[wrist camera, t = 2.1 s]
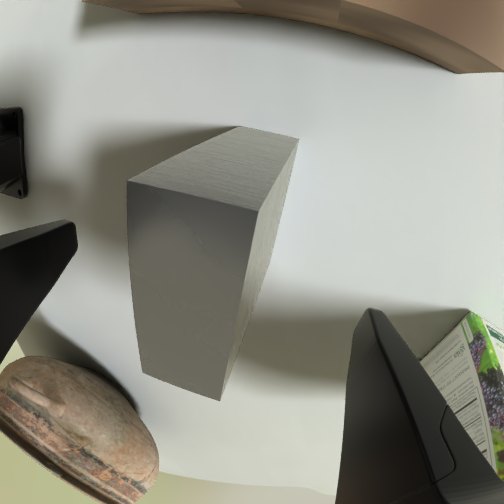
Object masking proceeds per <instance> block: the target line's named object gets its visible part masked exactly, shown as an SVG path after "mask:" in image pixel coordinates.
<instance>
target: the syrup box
mask: <svg viewBox="0 0 504 504" xmlns="http://www.w3.org/2000/svg"><path fill="white" fill-rule="evenodd" d="M420 363H421V365H422V366H423V368H424V369H425V371H426V372H427V373H428V375H429V376H430V378H431V379H432V381H433V382H434V384H435V385H436V387H437V388H438V389H439V391H440V392H441V394H442V395H443V397H444V398H445V400H446V401H447V405H449V406H450V407H451V409H452V411H453V412H454V414H455V415H456V417H457V418H458V420H459V421H460V423H461V424H462V426H463V427H464V429H465V430H466V432H467V433H468V434H469V436H470V437H471V438H472V440H473V441H474V443H475V444H476V445H477V447H478V448H479V450H480V451H481V452H482V454H483V455H484V456H485V458H486V459H487V461H488V462H489V463H490V465H491V466H492V468H493V469H494V470H495V472H496V473H497V475H498V476H499V477H500V478H501V479H502V480H503V481H504V333H503V332H502V331H500V330H499V329H497V328H496V327H494V326H493V325H492V324H490V323H489V322H487V321H485V320H484V319H482V318H481V317H479V316H478V315H476V314H475V313H473V312H469V313H468V314H467V315H466V316H465V317H464V318H463V319H462V321H461V322H460V323H459V324H458V325H457V326H456V327H455V328H454V329H453V330H452V331H451V332H450V333H449V334H448V335H447V336H446V337H445V338H444V339H443V340H442V341H441V342H440V343H439V344H438V345H437V346H436V347H435V348H433V349H432V350H431V351H430V352H429V353H428V354H427V355H426V356H425V357H424V358H423V359H422V360H421V361H420Z"/></svg>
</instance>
